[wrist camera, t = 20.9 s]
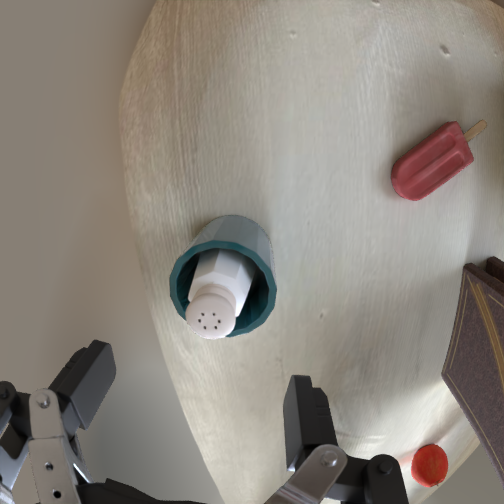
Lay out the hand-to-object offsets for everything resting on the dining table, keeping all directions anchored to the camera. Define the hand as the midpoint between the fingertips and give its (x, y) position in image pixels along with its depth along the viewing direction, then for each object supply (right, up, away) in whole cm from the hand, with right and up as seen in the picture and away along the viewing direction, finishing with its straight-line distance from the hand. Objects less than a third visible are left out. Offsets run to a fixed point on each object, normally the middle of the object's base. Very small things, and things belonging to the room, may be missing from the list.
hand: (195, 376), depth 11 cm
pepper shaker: (0, +5, +14) cm, 15 cm away
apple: (+39, -37, +28) cm, 61 cm away
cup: (+1, +5, +15) cm, 16 cm away
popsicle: (+22, +15, +11) cm, 29 cm away
